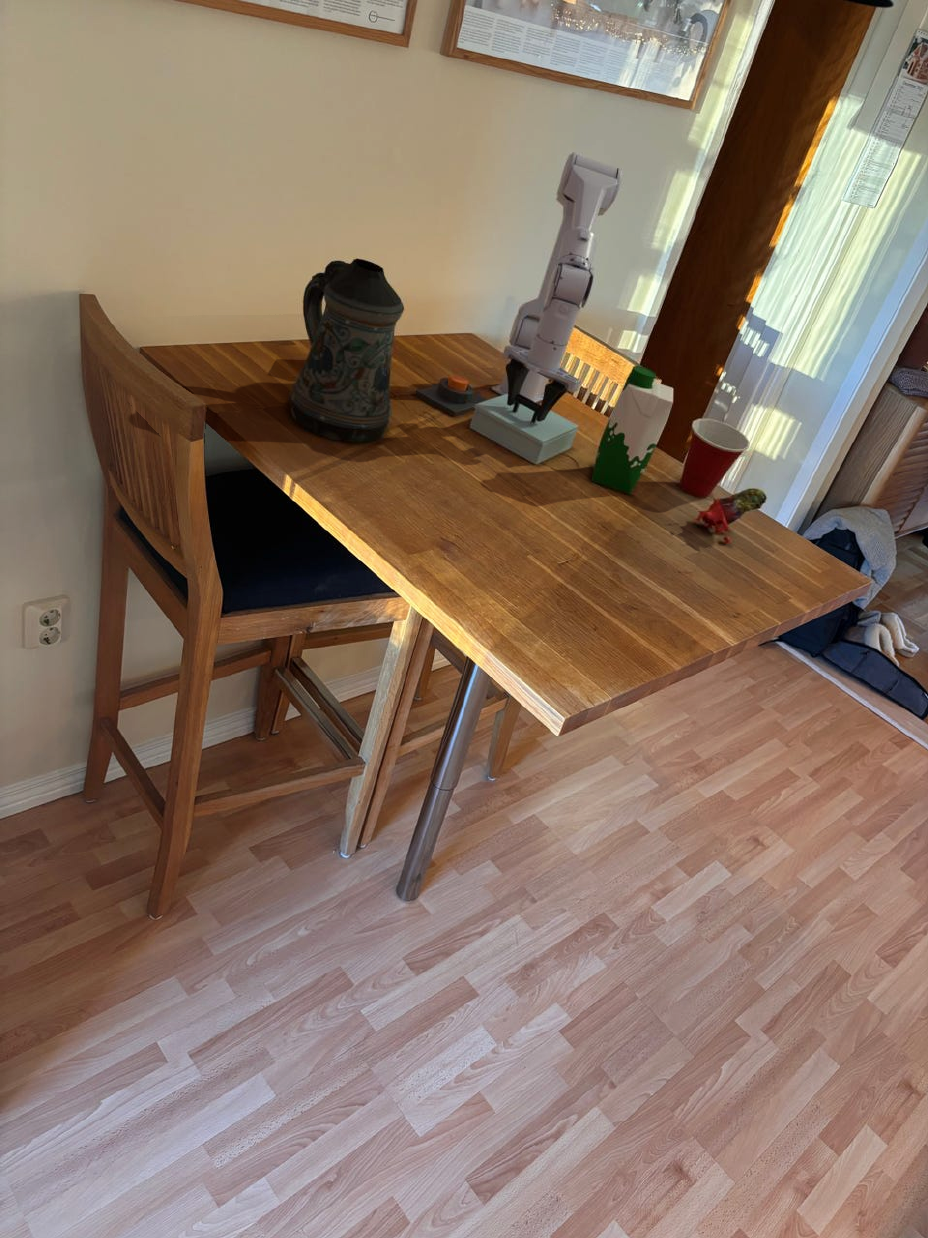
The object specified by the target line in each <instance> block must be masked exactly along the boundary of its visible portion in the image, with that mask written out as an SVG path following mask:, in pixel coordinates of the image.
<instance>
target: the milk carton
mask: <svg viewBox="0 0 928 1238" xmlns="http://www.w3.org/2000/svg"><path fill="white" fill-rule="evenodd" d="M656 376H657V374H656V372H654V371H653V370H652V369H649V368H647V367H644V366H641V365H634V366H633V367H632V368H631V370H630V372H629V374H628V376H627V378H626V380H625V383H624V385H623V387H622V389H621V392H620V393H619V395H618V398H617V400H616V402H615V405H614V407H613V409H612V412H611V414H610V416H609V419H608V422H607V424H606V426H605V429H604V431H603V434H602V436H601V438H600V442H599V445H598V448H597V452H596V457H595V461H594V466H593V472H592V477H591V482H593V483H596V484H599V485H601V486H603V487H607V488H610V489H612V490H615V491H618V492H621V493H623V494H626V495H629V496H630V495H631V494H632V492H633V490H634V489H635V487H636V485H637V483H638V482H639V481H640V479H641V477H642V476H643V474H644V472H645V470H646V469H647V466H648V464H649V463H650V460H651V458H652V456H653V453H654V451H655V449H656V447H657V444H658V443H659V440H660V438H661V435H662V434H663V431H664V429H665V427H666V424H667V422H668V418H669V415H670V413H671V410H672V406H673V404H674V388H673V387H672V386H668V385H667V384H663V383H660V382H659V381H658V380H656Z"/></svg>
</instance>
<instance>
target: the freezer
mask: <svg viewBox="0 0 928 1238" xmlns="http://www.w3.org/2000/svg"><path fill="white" fill-rule="evenodd" d="M469 428H470V429H472V430H473V431H475V432H477V433H479V434H480V435H482V436H484V437H485V438H487V439H489V440H491V441H492V442H495V443H497V444H498V445H500V446H502V447H503V448H504V449H507V450H508V451H511V452H512V453H514V454H516V455H518V456H520V457H521V458H523V459H525V460H526V461H528V462H530V463H532V464H534V465H535V466H536V465H539V464H541V463H543V462H545V461H546V460H550V459H551V458H553V457H555V456H557V455H559V454H561V453H564V452H565V451H569V450H570V449H571V448H572V445H573V443H574V440H575V437H576V435H577V432H578V429H577V430H574V431H572V432H570V433H568V434H565V435H563V436H561V437H559V438H557V439H554V440H552V441H550V442H548V443H545V444H543V445H541V444H539V443H537V442H535V441H533V440H531V439H530V438H528V437H526V436H524V435H522V434H521V433H519V432H517V431H515V430H513V429H511V428H510V427H508V426H506V425H504V424H502V423H501V422H499V421H497V420H495V419H493V418H491V417H490V416H488V415H486V414H484V413H482V412H480V411H479V410H477V409H475V410H473V415H472V418H471V421H470V424H469Z"/></svg>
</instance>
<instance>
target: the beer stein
mask: <svg viewBox="0 0 928 1238" xmlns="http://www.w3.org/2000/svg"><path fill="white" fill-rule="evenodd" d="M384 271H385V270H384V268H383V267H382V266H380V264H377V263H374V262H372V261H369V260H366V259H362V258H353V260H352V261H351V262H350V263H349V262H346V261H344V260H339V259H337V260H331V261H330V262H329V263H328V264H327V265H326V266H325V268H324V272H317V273H316V274H314V275H312V276H311V280H309V282H308V283H307V285H306V286H305V288H304V292H303V297H302V314H303V315H302V316H303V320H304V321H303V322H304V326H305V331H306V334H307V338H308V341H309V343H310V346H311V347H310V349H309V352H308V355H307V357H306V359H305V362H304V364H303V367H302V368H301V371H300V373H299V375H298V377H297V379H296V380H295V381H294V383H293V384H292V386H291V388H290V395H289V396H290V397H289V398H290V414H291V416H292V418H293V419H294V421H296V422H297V424H299V425H300V426H301V427H303V428H305V429H307V430H309V431H310V432H311V433H313V434H316V435H318V436H320V437H323V438H326V439H328V440H333V441H338V442H343V443H348V444H356V443H357V444H369V443H372V442H374V441H377V440H381V439H383V437H384V435H385V433H386V430H387V426H388V425H389V422H390V420H391V419H392V416H393V409H392V405H391V398H390V397H391V395H390V391H391V389H390V387H391V385H390V384H391V369H392V358H393V351H394V340H395V332H396V331H395V330H396V326H397V322H398V321H399V320H400V319H401V317H402V315H403V313H404V311H405V306H404V303H403V302H402V298H401V297H400V296H399V294H398V293H397V292H396V291H395V289H394V288H393V287H392V285H391V284H390V283H389V281H388V280H387V278H386V276H385V272H384ZM323 300H324V303H325V306H324V310H323Z"/></svg>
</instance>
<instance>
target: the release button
mask: <svg viewBox="0 0 928 1238" xmlns="http://www.w3.org/2000/svg"><path fill="white" fill-rule="evenodd" d="M448 378H449V379H448V383H447V385H448V386H449V387H450V388H452V389H455V390H458V391H466V388H467V384H469V380H468V379H467V378H466V377H464V376H462V375H459V374H450V375H449V376H448Z"/></svg>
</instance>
